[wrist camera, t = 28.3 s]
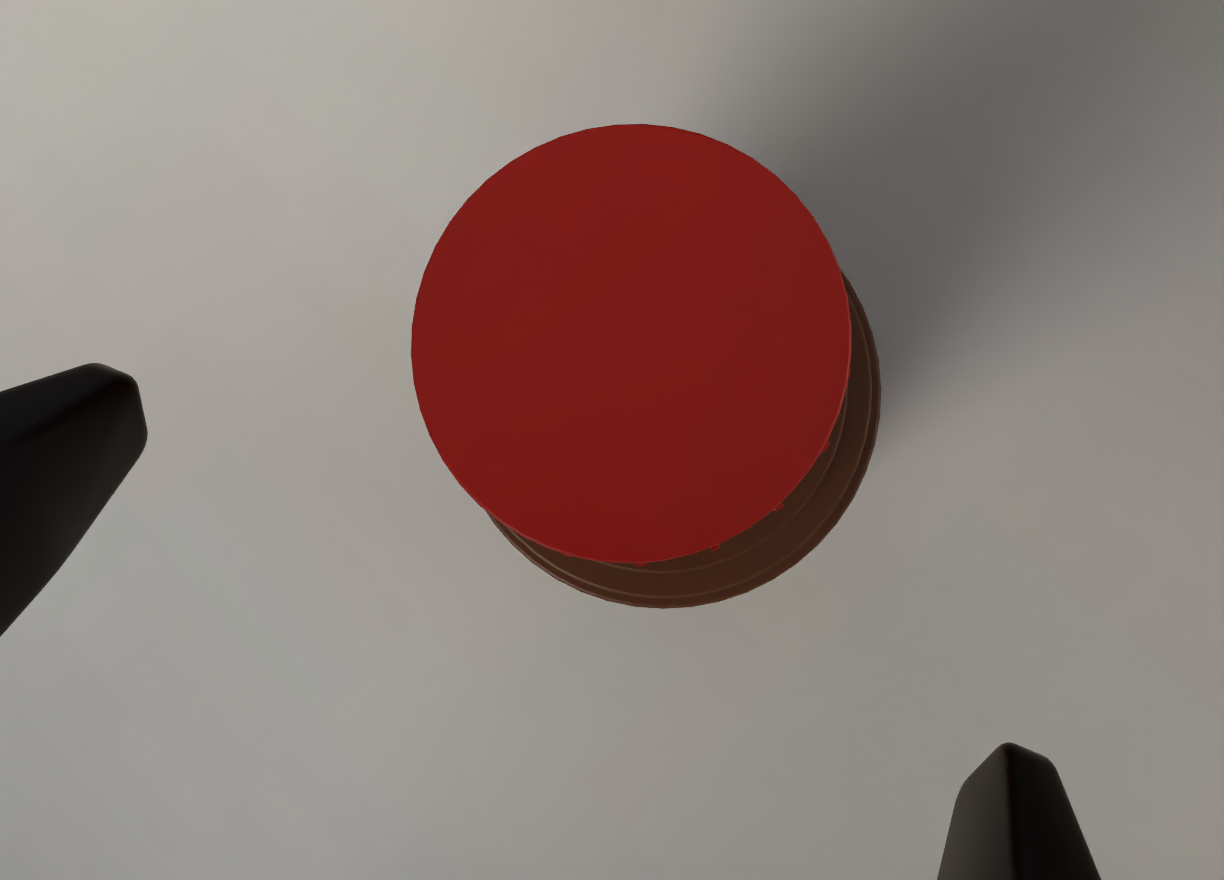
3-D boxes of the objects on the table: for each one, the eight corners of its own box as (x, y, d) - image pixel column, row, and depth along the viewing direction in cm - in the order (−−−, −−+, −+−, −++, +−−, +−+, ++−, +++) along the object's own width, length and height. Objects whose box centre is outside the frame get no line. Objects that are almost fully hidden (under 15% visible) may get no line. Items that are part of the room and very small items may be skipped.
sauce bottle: (581, 601, 21) (414, 734, 9) (508, 329, 21) (266, 141, 10) (860, 526, 20) (1045, 570, 9) (779, 250, 21) (855, -48, 9)
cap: (487, 557, 12) (413, 579, 9) (475, 220, 12) (399, 135, 9) (831, 544, 12) (870, 561, 9) (811, 195, 12) (842, 98, 9)
